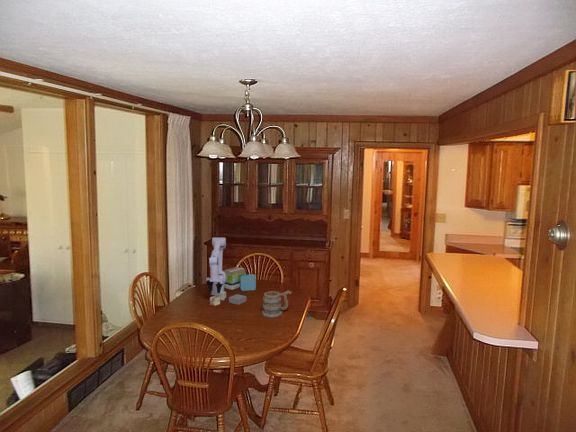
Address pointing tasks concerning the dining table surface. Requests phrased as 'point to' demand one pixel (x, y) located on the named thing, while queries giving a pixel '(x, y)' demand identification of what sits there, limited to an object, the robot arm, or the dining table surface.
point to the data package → (248, 282)
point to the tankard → (274, 303)
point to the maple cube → (214, 300)
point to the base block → (237, 299)
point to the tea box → (233, 277)
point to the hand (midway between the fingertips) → (214, 291)
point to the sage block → (221, 295)
